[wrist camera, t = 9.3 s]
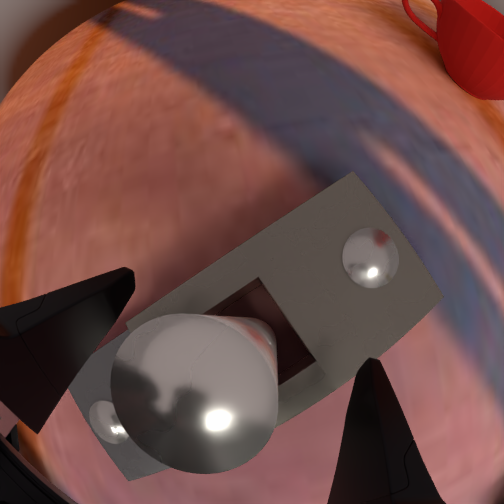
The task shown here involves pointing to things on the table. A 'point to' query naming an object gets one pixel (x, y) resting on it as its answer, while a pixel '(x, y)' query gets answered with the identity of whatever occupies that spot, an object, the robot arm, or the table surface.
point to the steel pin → (198, 390)
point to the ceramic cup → (469, 44)
